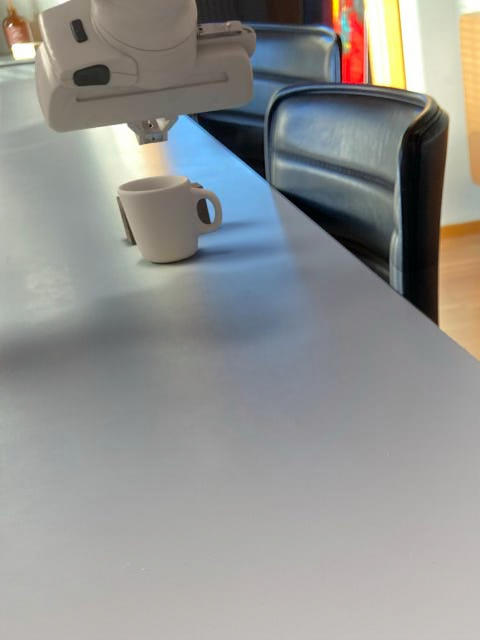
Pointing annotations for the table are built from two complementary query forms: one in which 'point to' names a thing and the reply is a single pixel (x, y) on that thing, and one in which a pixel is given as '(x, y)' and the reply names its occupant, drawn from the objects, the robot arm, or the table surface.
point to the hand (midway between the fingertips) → (151, 137)
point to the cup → (166, 216)
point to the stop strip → (201, 211)
